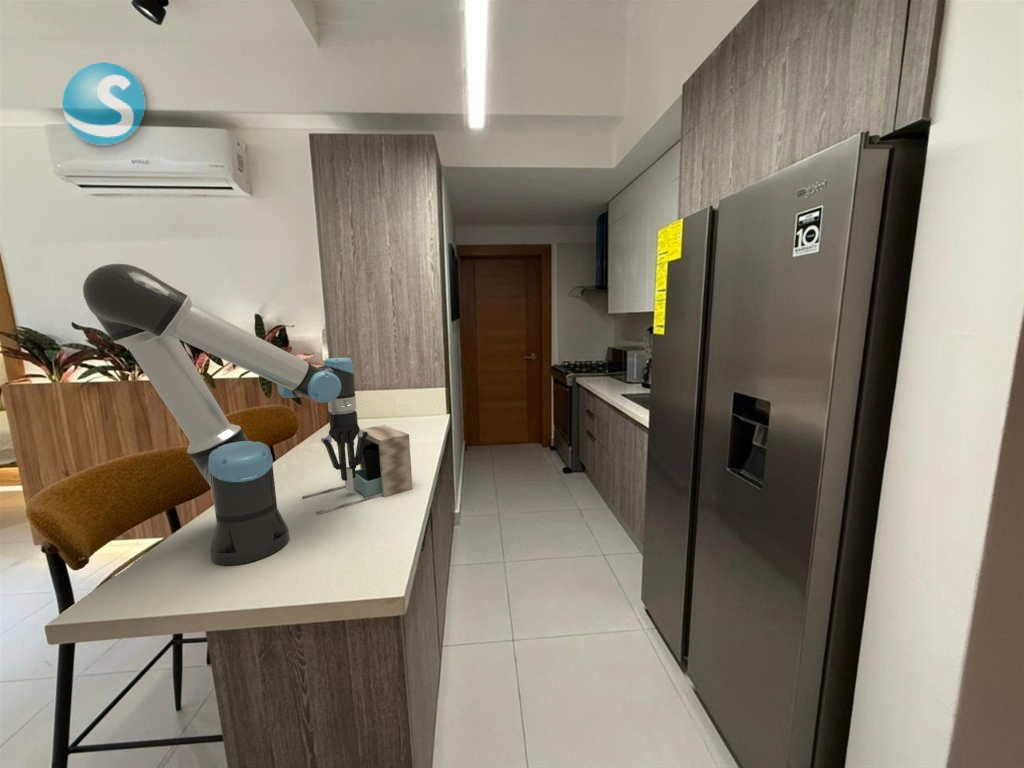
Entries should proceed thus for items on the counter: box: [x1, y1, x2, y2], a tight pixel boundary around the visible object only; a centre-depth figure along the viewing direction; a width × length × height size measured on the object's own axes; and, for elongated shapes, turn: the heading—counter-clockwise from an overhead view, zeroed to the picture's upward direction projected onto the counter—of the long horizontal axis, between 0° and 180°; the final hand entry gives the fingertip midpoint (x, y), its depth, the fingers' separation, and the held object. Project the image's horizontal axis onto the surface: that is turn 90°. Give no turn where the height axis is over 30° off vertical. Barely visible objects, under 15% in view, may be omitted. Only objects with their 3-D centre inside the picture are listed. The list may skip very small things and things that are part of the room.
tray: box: [353, 468, 382, 498], centre depth 129 cm, size 12×13×5 cm
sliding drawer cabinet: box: [301, 424, 414, 515], centre depth 124 cm, size 27×18×17 cm, turn 130°
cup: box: [363, 444, 381, 481], centre depth 128 cm, size 8×8×12 cm
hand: (349, 489), depth 124 cm, fingers closed
